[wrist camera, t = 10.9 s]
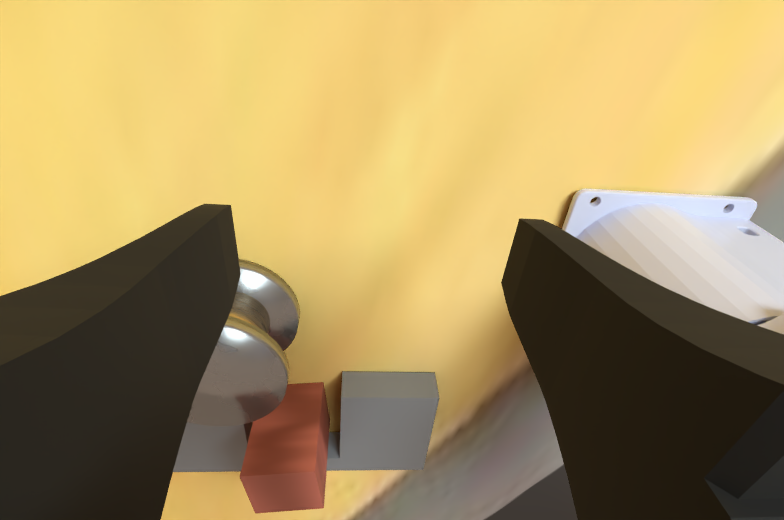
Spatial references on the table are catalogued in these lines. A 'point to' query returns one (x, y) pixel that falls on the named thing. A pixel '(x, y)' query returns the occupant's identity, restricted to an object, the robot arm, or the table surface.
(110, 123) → the table surface
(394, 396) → the notched board
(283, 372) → the bobbin
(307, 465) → the block
